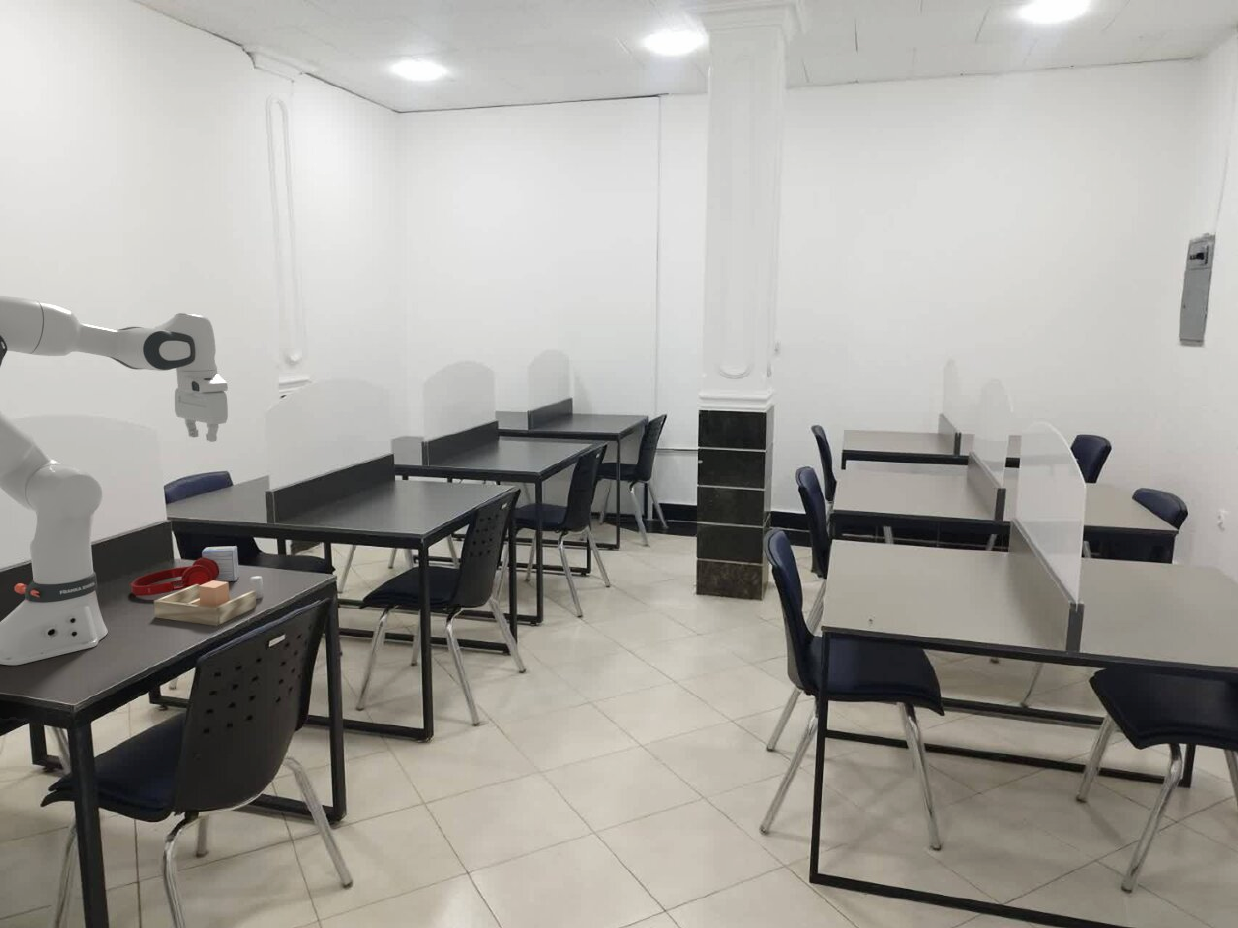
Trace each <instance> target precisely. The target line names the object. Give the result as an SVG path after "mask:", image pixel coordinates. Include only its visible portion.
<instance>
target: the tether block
mask: <svg viewBox="0 0 1238 928" xmlns="http://www.w3.org/2000/svg"><path fill="white" fill-rule="evenodd" d="M249 580H250V582H249V583H250V591H255V593H256V600H257V599H258V600H259V599H262V598H264V582H263V581H264V580H263V577H262V576H259V575H257V576H252V577H250V578H249ZM229 582H230V581H215V580H212V581H210V582H207V583H205V584H202V585H200V586H199V594H200V605H201V606H209V607H217V606H219V605H221V604H224V603H226V602H228V601H230V600H231V598H230V584H229Z"/></svg>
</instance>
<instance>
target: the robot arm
mask: <svg viewBox="0 0 1238 928" xmlns="http://www.w3.org/2000/svg"><path fill="white" fill-rule="evenodd" d="M7 352H14V353H15V352H16V353H21V354H28V355H33V356H34V355H35V356H43V357H44V356H46V357H47V356H48V357H61V356H64V357H65V356H67V355H69V354H71V353H73V352H76V353H77V352H79V353H85V354H91V355H92V354H93V355H97V356H102V357H107V358H109V359H112V360H115V361H116V362H117V363H119V364H120V365H121V366H124V367H126V368H128V369H131V370H148V371H157V372H165V371H166V372H167V371H170V370H174V369H175V371H176V383H177V387H176V389H175V391H174V412H175V414H176V417H177V418H180V419H181V418H182V419H184V424H185V426H186V429H187V430H188V431H187V433H188V437H190V438H198V437H199V436H200V435H199V429H198V428H197V425H196V423H197V422H201V423H204V424H206V427H207V429H208V430H207V433H206V434H205V435H206V436H205V437H206V441H207V442H210V443H211V442H216V441H217V439H218V438H217V437H218V436H217V434H218V430H219V425H222V424H226V423H227V421H228V418H229V412H228V411H229V408H228V407H229V405H228V397H227V394H226V392H227V391H228V383H227V381H226V380H224V379H223V378H222V377H221V375H219V374H218V366H217V365H216V359H215V358H216V357H215V356H216V352H217V351H216V340H215V334H214V329H213V326H212V323H211V321H210V320H209V318H208V317H205V316H204V315H198V314H194V313H185V312H182V313H181V312H180V313H179V312H178V313H176V314H174V316H173V317H172V318H171V319H169V320H168V321H166V322H164V323H163V324H161V325H157V326H155V327H154V328H152V327H151V328H149V327H140V326H126V327H124V328H119V329H109V328H105V327H99V326H95V325H90V324H85V323H81V322H80V321H79V320H78V318H77V317H76V316H75V314H74V313H73V312H72V311H71V310H68V309H66V308H63V307H62V306H58V305H55V304H52V303H48V302H44V301H39V300H35V299H28V298H24V297H23V298H22V297H15V296H5V295H0V367H1V366H2V363H3V360H4V358H5V356H6V354H7ZM0 489H1V490H2V491H3V492H4V493H6V494H7V495H8V496H10V497H11V498H12V499H13V500H14V501H15V502H16V503H18V504H20V505H21V506H22V507H24V508H25V509H28V510H31V511H33V512H35V513H36V527H35V533H34V537H33V539H32V540H31V542H30V545H29V550H30V551H29V552H30V561H31V568H32V569H31V570H32V577H33V579H32V580H31V582H30V583H29V584H28V585H27V584H24V583H21V582H20V583H19V582H18V583H17V584H15V586H14V592H16V593H18V594H20V595H24V596H25V599H24V600H23V601H22V602H21V603H20V604H18V606H16V607H15V608H14V609H13V610H12V611H11V612H10V613H9V614H8V615H6V617H4V619H2V620H1V621H0V665H5V666H19V665H24V664H28V663H29V664H30V663H33V662H37V661H40V660H45V659H50V658H53V657H57V656H61V655H65V654H69V653H73V652H77V651H82V650H86V649H90V648H94V647H96V646H97V645H98V644H99V641H100V640H102V639H103V638H105V637H106V635H107V634H108V632H109V630H108V628H107V627H106V624H105V622H104V619H103V616H102V613H101V610H100V605H99V602H98V582H97V573H96V572H95V571H94V567H93V565H94V564H93V555H92V554H93V553H92V542H91V541H92V538H91V537H92V529H93V523H94V522H93V521H94V516H95V512H96V511H97V510H98V508H99V507H100V505H101V502H102V500H103V490H102V487H101V485H100V484H99V482H98V480H96V479H95V478H94V477H93V476H92V475H90V474H89V473H88V472H86V471H84V470H83V469H80V468H77V467H73V466H68V465H66V464H65V465H64V464H62V463H60V462H58V461H56V460H55V459H54V458H52V457H50V456H49V455H48V454H47V453H46V452H45V451H44V450H43V449H42V448H41V447H40V445H38V443H36V441H35V440H34V438H33V436H32V435H30V433H28V432H27V431H26V430H24V428H21V427H20V426H19V424H16V422H14V421H12V420H11V419H10V418H9V417H8V416H6V415H5V414H3V413H2V412H1V411H0Z"/></svg>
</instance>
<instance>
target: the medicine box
mask: <svg viewBox="0 0 1238 928" xmlns="http://www.w3.org/2000/svg"><path fill="white" fill-rule="evenodd" d="M201 556H202V557H201V558H207V559H210V560H214V561H215V562H216V563H217V565H218V567H219V575H218V577H217V578H216V580H215V581H223V582H235V581H236V580H237V579H238V578H239V576H240V572H239V558H238V547H237V545H235V546H232V545H231V546H228V545H227V546H210V547H209V546H208V547H205V548H204V549H203V550H202V552H201Z"/></svg>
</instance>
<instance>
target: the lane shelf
mask: <svg viewBox="0 0 1238 928" xmlns="http://www.w3.org/2000/svg"><path fill="white" fill-rule="evenodd" d="M199 586H200V585H199V584H195V585H192V586H190V587H187V588H185V589H182V590H176V592H173V593H171V594H168V595H166V596H163V597H160V598H157V599H156V600H153V608H154V617H155V618H157V619H158V618H159V619H165V620H173V621H181V622H185V623H187V622H188V623H193V624H194V623H195V624H201V625H209V626H217V627H218V626H219V625H222V624H223V623H226V622H229V620H232V619H234V618H235V617H236V618H237V617H238V616H240V615H242V614H245V613H246V612H248V611H251V610H252V609H255V608H256V607H257V599H256V593H255V591H251V590H250V591H248V592H246V593H243V594H241V595H239V596H236V597H235V598H233V599H230V601H228V602H226V603H224V604H221V605H219V606H217V607H209V606H201V605H200V594H199Z"/></svg>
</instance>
